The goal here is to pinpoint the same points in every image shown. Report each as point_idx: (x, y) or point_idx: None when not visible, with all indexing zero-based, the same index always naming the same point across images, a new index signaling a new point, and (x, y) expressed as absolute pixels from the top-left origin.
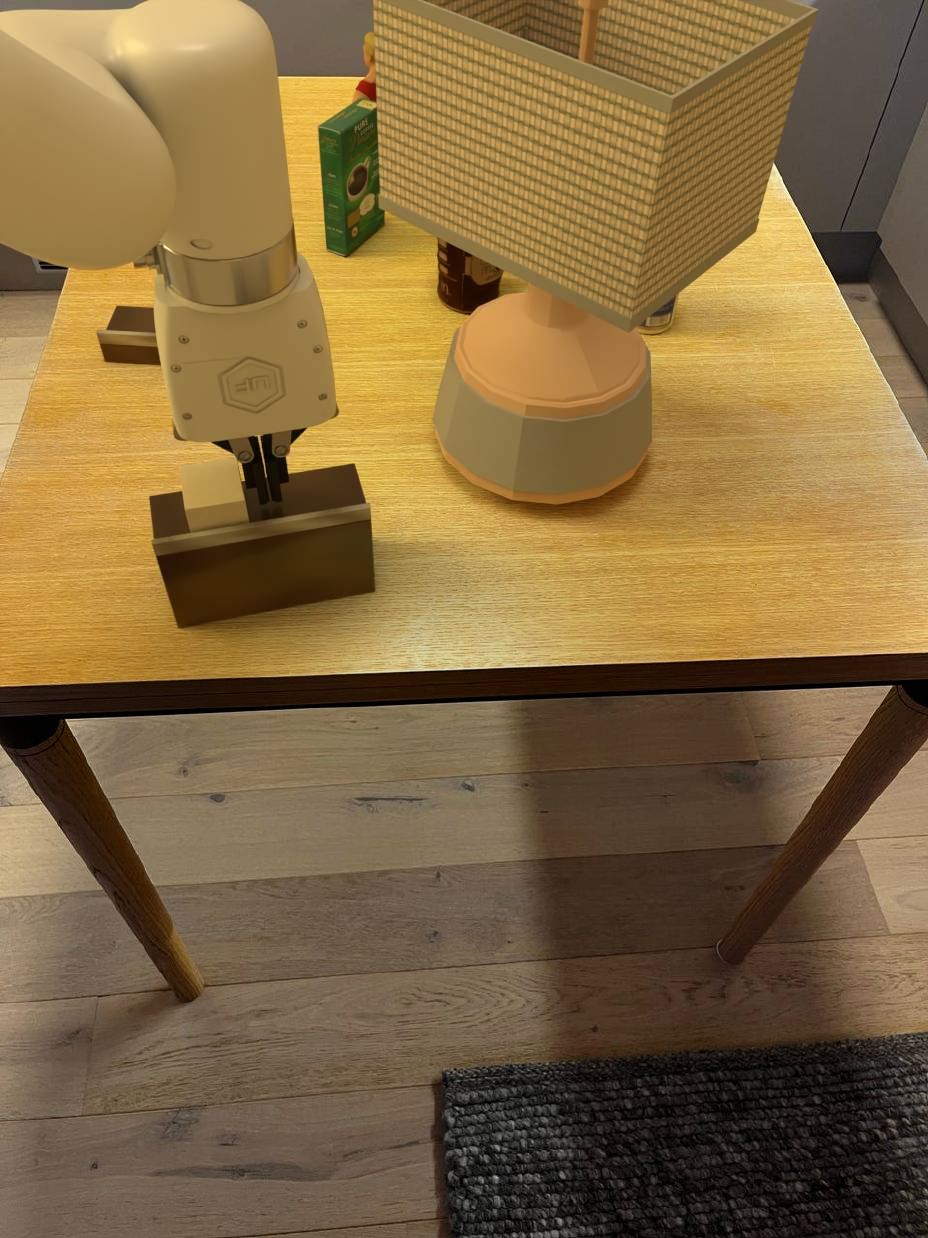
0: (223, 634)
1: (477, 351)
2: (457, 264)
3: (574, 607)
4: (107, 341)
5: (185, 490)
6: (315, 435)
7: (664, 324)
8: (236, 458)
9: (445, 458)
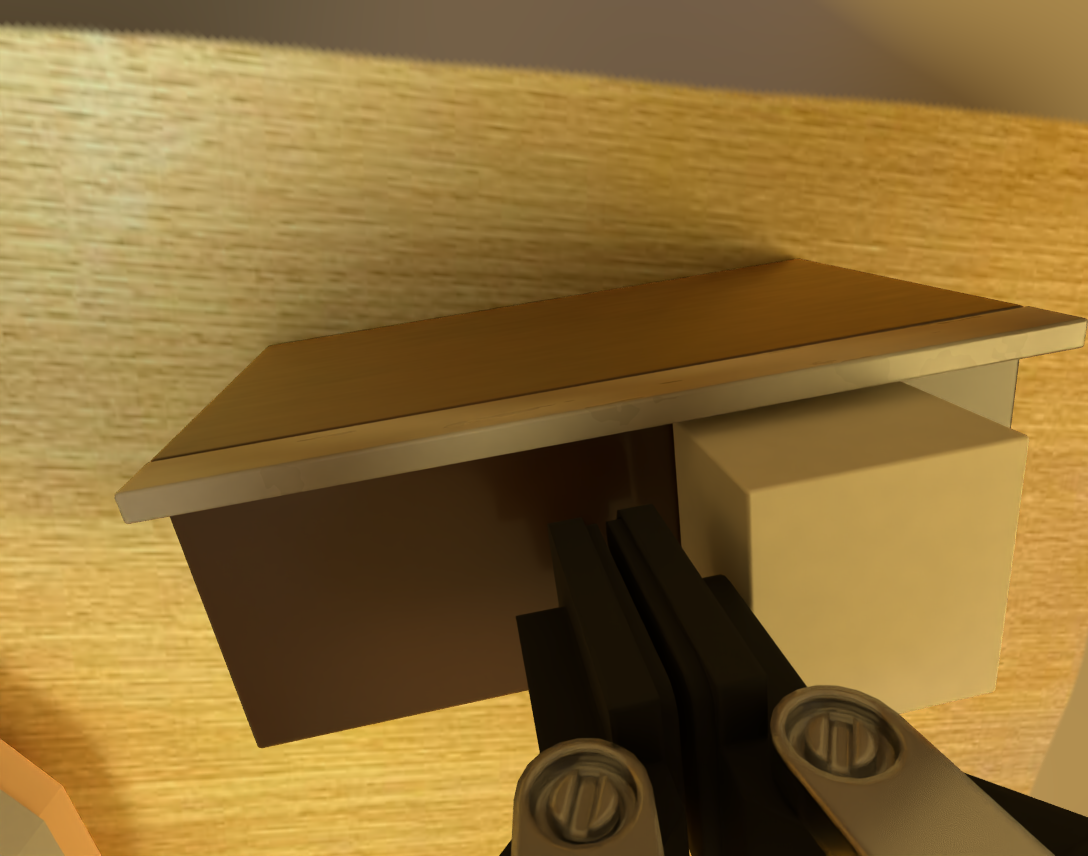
0: (689, 225)
1: None
2: None
3: None
4: None
5: (1000, 555)
6: (448, 831)
7: None
8: (895, 713)
9: (60, 787)
